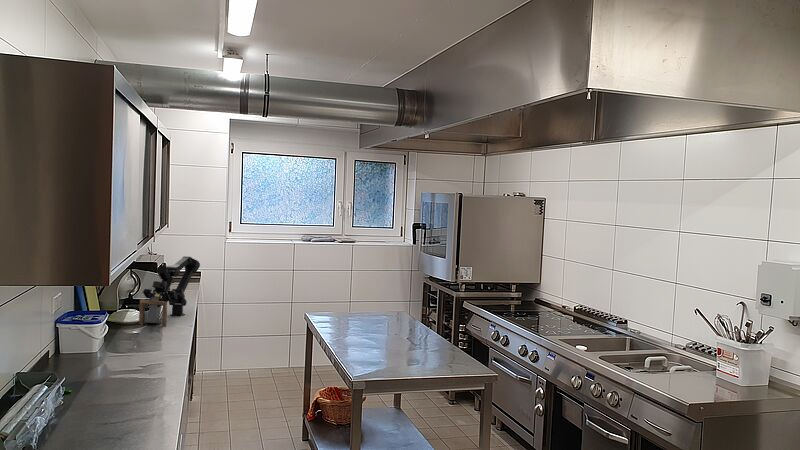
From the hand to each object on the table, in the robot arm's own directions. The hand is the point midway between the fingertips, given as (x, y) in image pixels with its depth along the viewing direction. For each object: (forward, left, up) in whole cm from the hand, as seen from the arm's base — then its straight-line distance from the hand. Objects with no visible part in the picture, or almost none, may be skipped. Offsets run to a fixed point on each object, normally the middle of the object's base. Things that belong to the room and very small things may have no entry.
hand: (154, 306), depth 337 cm
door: (-5, -6, -10) cm, 12 cm away
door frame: (+3, +1, -10) cm, 10 cm away
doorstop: (+1, 0, -9) cm, 9 cm away
